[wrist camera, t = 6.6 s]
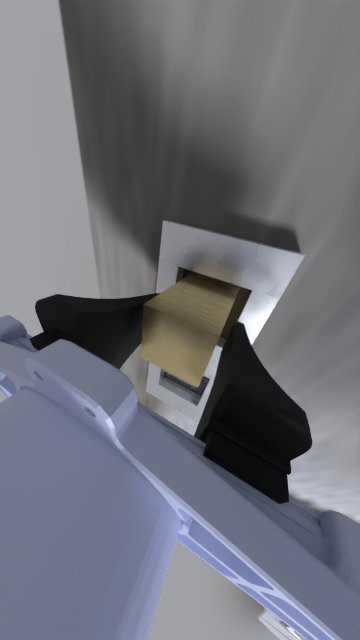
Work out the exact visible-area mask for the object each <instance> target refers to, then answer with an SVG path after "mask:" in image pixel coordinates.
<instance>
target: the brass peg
mask: <svg viewBox="0 0 360 640" xmlns="http://www.w3.org/2000/svg"><path fill="white" fill-rule="evenodd" d="M239 289H240V287H238V286H235V285H232V284H228V283H225V282H222V281H219V280H216V279H213V278H210V277H207V276H204V275H200V274H197V273H194V272H193V273H191V274H190V275H188V276H187V277H185V278H183V279H182V280H180V281H179V282H177V283H176V284H174V285H173V286H171V287H169V288H168V289H166V290H165V291H163V292H162V293H160V294H159V295H157V296H155V297H154V298H152V299H151V300H149V301H148V302H146V303H145V304H143V326H142V348H141V358H143V359H144V360H146V361H148V362H150V363H152V364H154V365H156V366H158V367H160V368H162V369H164V370H166V371H167V372H169V373H171V374H173V375H175V376H177V377H179V378H181V379H183V380H185V381H187V382H188V383H190V384H192V385H194V386H196V387H199V385H200V383H201V380H202V378H203V375H204V373H205V371H206V368H207V366H208V363H209V361H210V359H211V356H212V354H213V351H214V349H215V347H216V344H217V342H218V339H219V337H220V335H221V332H222V330H223V327H224V325H225V323H226V320H227V318H228V315H229V313H230V311H231V308H232V306H233V303H234V301H235V299H236V296H237V294H238V291H239Z"/></svg>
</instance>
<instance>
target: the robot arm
mask: <svg viewBox="0 0 360 640" xmlns="http://www.w3.org/2000/svg"><path fill="white" fill-rule="evenodd" d="M159 294H160V293H155V294H149V295H144V296H138V297H131V298H121V299H93V298H81V297H73V296H66V295H60V294H57V295H53V296H50V297H47V298H44V299H41V300H38V301H37V302H36V305H35V309H36V313H37V316H38V318H39V321H40V324H41V326H42V328H43V331H44V332H43V333H40V334H39V335H36V336H34V337H32V336H30V335H28V334H27V331H26V329H25V327H24V326H23V324H22V323H21V322H20V321H18V320H16V319H15V318H13V317H11V316H9V315H6V316H4V317H1V318H0V392H2V393H3V394H4V395H5V396H6V397H7V399H5V400H4V401H2V402H1V403H0V640H148V639H149V635H150V632H151V628H152V625H153V621H154V618H155V614H156V611H157V607H158V604H159V600H160V597H161V593H162V589H163V586H164V582H165V579H166V576H167V572H168V568H169V565H170V561H171V558H172V554H173V551H174V547H175V544H176V540H178V541H179V542H180V543H182V544H183V545H184V546H186V547H187V548H188V549H189V550H191V551H192V552H193V553H195V554H196V555H198V556H199V557H200V558H201V559H203V560H204V561H205V562H207V563H208V564H209V565H210V566H212V567H213V568H214V569H216V570H217V571H218V572H220V573H221V574H223V575H224V576H225V577H226V578H228V579H229V580H230V581H231V582H233V583H234V584H236V585H237V586H238V587H239V588H241V589H242V590H243V591H244V592H246V593H247V594H248V595H250V596H251V597H252V598H254V599H255V600H256V601H258V602H259V603H260V604H261V605H263V606H264V607H265V608H267V609H268V610H269V611H271V612H272V613H273V614H274V615H276V616H277V617H278V618H280V619H281V620H282V621H283V622H285V623H286V624H287V625H289V626H290V627H291V628H292V629H294V630H295V631H296V632H297V633H299V634H300V635H301V636H302V637H304V638H305V639H306V640H360V524H359V523H357V522H355V521H353V520H352V519H350V518H348V517H347V516H345V515H343V514H341V513H339V512H335V511H331V510H326V511H323V512H320V513H317V512H316V511H314V510H312V509H311V508H309V507H308V506H306V505H304V504H303V503H301V502H299V501H298V500H296V499H295V498H293V497H291V496H290V495H289V492H288V481H287V474H288V475H289V474H290V473H291V465H290V461H291V460H293V459H295V458H296V457H298V456H300V455H302V454H304V453H306V452H307V451H308V450H309V449H310V448H311V446H312V438H311V433H310V428H309V423H308V420H307V417H306V413H305V411H304V410H303V409H301V408H300V407H299V406H298V405H297V404H296V403H295V402H294V401H293V400H292V399H291V398H290V397H289V396H288V395H287V394H286V393H285V392H284V391H283V390H282V389H281V387H280V386H279V385H278V384H277V383H276V382H275V381H274V379H273V378H272V377H271V376H270V374H269V373H268V372H267V370H266V369H265V368H264V366H263V365H262V363H261V362H260V360H259V359H258V357H257V355H256V354H255V352H254V350H253V348H252V345H251V343H250V340H249V338H248V335H247V332H246V329H245V325H244V323H241V322H238V321H236V320H235V321H234V323H233V325H232V328H231V330H230V332H229V334H228V336H227V338H226V341H225V343H224V346H223V348H222V351H221V354H220V358H219V362H218V366H217V371H216V375H215V379H214V382H213V386H212V388H211V391H210V394H209V397H208V400H207V402H206V405H205V408H204V411H203V413H202V416H201V419H200V421H199V424H198V427H197V429H196V432H195V435H194V436H192V435H191V434H189V433H187V432H186V431H184V430H183V429H181V428H179V427H178V426H176V425H174V424H173V423H171V422H170V421H168V420H166V419H165V418H163V417H162V416H160V415H158V414H157V413H155V412H153V411H152V410H150V409H149V408H147V407H145V406H144V405H142V404H140V403H139V402H137V393H136V390H135V387H134V385H133V383H132V382H131V381H130V379H129V378H128V377H127V376H126V375H125V374H124V373H123V372H121V371H120V370H119V369H120V368H121V366H122V365H123V364H124V363H125V361H126V360H127V359H128V358H129V356H130V355H131V354H132V353H133V352H134V350H135V349H136V348H137V347H138V346H139V345H140V344H141V343H142V326H143V304H145V303H146V302H148V301H149V300H151V299H152V298H154V297H155V296H157V295H159Z"/></svg>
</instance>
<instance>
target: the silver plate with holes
mask: <svg viewBox="0 0 360 640" xmlns="http://www.w3.org/2000/svg"><path fill="white" fill-rule="evenodd" d="M304 257H305V255H304V254H302V253H301V252H298V251H294V250H290V249H286V248H282V247H277V246H273V245H269V244H265V243H261V242H257V241H253V240H249V239H245V238H241V237H236V236H232V235H228V234H224V233H220V232H216V231H212V230H208V229H204V228H200V227H195V226H191V225H187V224H183V223H179V222H175V221H164V220H163V225H162V236H161V246H160V256H159V266H158V277H157V287H156V293H162V292H163V291H165V290H166V289H168V288H169V287H171V286H173V285H174V284H176V283H177V282H179V281H180V280H182V279H183V276H184V270H185V269H188V270H191V271H194V272H197V273H200V274H203V275H206V276H209V277H213V278H216V279H219V280H222V281H225V282H228V283H231V284H234V285H237V286H240V287H243V288H246V289H250V290H251V291H250V293H249V295H248V298H247V300H246V302H245V304H244V306H243V308H242V310H241V312H240V315H239V317H238V319H237V321H238V322H241V323H244V325H245V329H246V332H247V335H248V338H249V340H250V343H251V345H252V344H253V342H254V340H255V339H256V337H257V335H258V334H259V332H260V330H261V329H262V327H263V325H264V324H265V322H266V320H267V319H268V317H269V315H270V314H271V312H272V310H273V309H274V307H275V305H276V304H277V302H278V300H279V299H280V297H281V295H282V294H283V292H284V290H285V289H286V287H287V285H288V284H289V282H290V280H291V279H292V277H293V275H294V274H295V272H296V270H297V269H298V267H299V265H300V264H301V262H302V260H303V259H304ZM225 341H226V338H223V337H221V336H220V337H219V339H218V342H217V344H216V347H215V349H214V351H213V354H212V356H211V359H210V361H209V363H208V366H207V368H206V371H205V373H204V375H203V376H205V377H207V378H209V381H208V383H207V385H206V387H205V389H204V391H203V394H202V396H200V395H198V394H197V393H195V392H193V391H191V390H189V389H187V388H185V387H184V386H182V385H180V384H178V383H176V382H174V381H172V380H171V379H169V378H167V377H165V376H164V374H165V370H164V369H162V368H160V367H158V366H156V365H154V364H152V363H150V362H149V368H148V379H147V389H146V392H148V393H150V394H152V395H153V396H155V397H157V398H158V399H160V400H162V401H163V402H165V403H167V404H169V405H170V406H172V407H174V408H175V409H177V410H179V411H181V412H182V413H184V414H186V415H187V416H189V417H191V418H192V419H194V420H196V421H198V422H199V421H200V419H201V416H202V413H203V411H204V408H205V405H206V402H207V400H208V397H209V394H210V391H211V388H212V386H213V382H214V379H215V375H216V371H217V366H218V362H219V358H220V354H221V351H222V348H223V346H224V343H225Z"/></svg>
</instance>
